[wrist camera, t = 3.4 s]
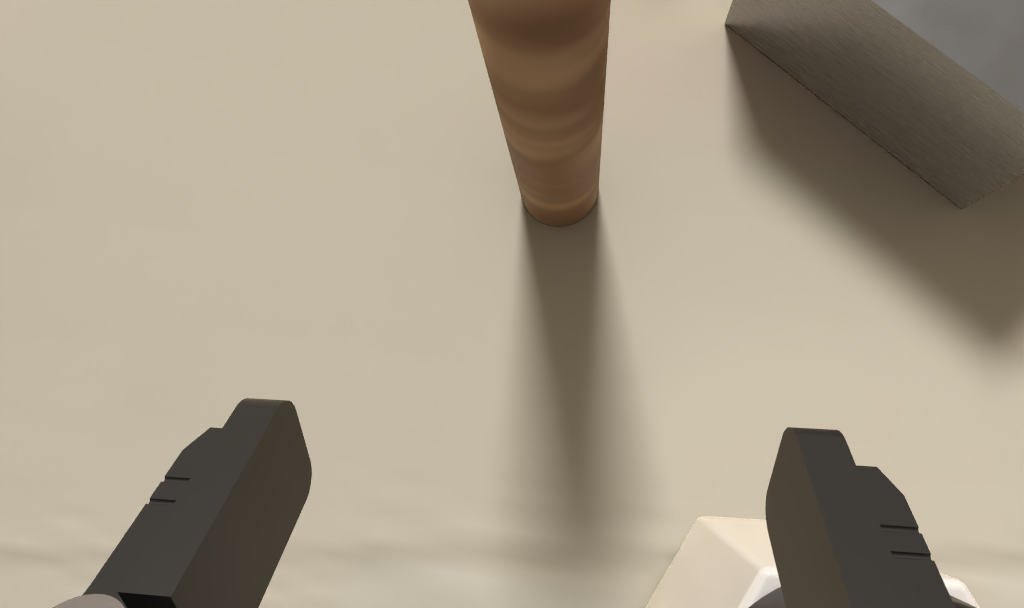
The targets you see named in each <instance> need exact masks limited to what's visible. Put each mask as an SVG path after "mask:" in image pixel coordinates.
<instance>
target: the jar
mask: <svg viewBox="0 0 1024 608" xmlns="http://www.w3.org/2000/svg"><path fill="white" fill-rule="evenodd" d="M939 573H940V575H941V577H942V579H943V582H944V584H945V586H946V588H947V590H948V592H949V595H950V597H951V599H952V601H953V603H954V606H955V608H980V607H979V605H978V604H977V602H976V601H975V599H974V597H973V596H972V594H971V593H970V591H969V589H968V588H967V586H966V585H965V584H964V583H963V582H962V581H960V580H958V579H956V578H953V577H951V576H948V575H946V574H944V573H941V572H939ZM645 608H786V606H785V601H784V597H783V593H782V589H781V585H780V581H779V576H778V572H777V568H776V564H775V560H774V555H773V551H772V547H771V543H770V539H769V534H768V530H767V524H766V520H763V519H746V518H729V517H712V516H701V517H699V518H698V519H697V520H696V522H695V523H694V525H693V527H692V529H691V530H690V532H689V534H688V536H687V537H686V539H685V541H684V542H683V544H682V546H681V548H680V549H679V551H678V553H677V554H676V556H675V558H674V559H673V561H672V563H671V565H670V566H669V568H668V570H667V571H666V573H665V575H664V576H663V578H662V580H661V582H660V583H659V585H658V587H657V588H656V590H655V592H654V594H653V595H652V597H651V599H650V600H649V602H648V604H647V605H646V607H645Z"/></svg>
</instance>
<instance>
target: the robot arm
mask: <svg viewBox="0 0 1024 608" xmlns="http://www.w3.org/2000/svg"><path fill="white" fill-rule="evenodd" d="M311 475H312V469H311V462H310V458H309V454H308V451H307V447H306V444H305V440H304V437H303V433H302V430H301V426H300V423H299V419H298V416H297V412H296V409H295V406H294V405H293V403H292V402H290V401H285V400H267V399H249V398H246V399H244V400H242V401H241V402H240V403H239V404H238V405H237V406H236V408H235V410H234V411H233V413H232V414H231V416H230V417H229V419H228V420H227V422H226V423H225V425H224V427H223V428H209V429H208V430H207V431H206V432H204V433H203V434H202V435H201V436H199V437H198V438H197V439H196V440H195V441H193V442H192V443H191V444H190V445H188V446H187V447H186V448H185V449H183V451H182V452H181V453H180V455H179V456H178V458H177V459H176V461H175V462H174V464H173V465H172V467H171V468H170V470H169V471H168V472H167V474H166V475H165V480H164V482H161V483H160V484H159V486H158V487H157V488H156V490H155V491H154V493H153V494H152V496H151V497H150V502H149V504H146V505H145V506H144V507H143V509H142V510H141V512H140V513H139V515H138V516H137V518H136V519H135V521H134V522H133V524H132V525H131V526H130V528H129V529H128V531H127V532H126V534H125V535H124V537H123V538H122V540H121V541H120V542H119V544H118V545H117V547H116V548H115V550H114V551H113V553H112V554H111V556H110V557H109V559H108V560H107V561H106V563H105V564H104V566H103V567H102V569H101V570H100V572H99V573H98V575H97V576H96V578H95V579H94V580H93V582H92V583H91V585H90V586H89V587H88V589H87V590H86V591H85V593H84V594H83V595H82V596H79V597H75V598H72V599H70V600H67V601H65V602H63V603H61V604H59V605H57V606H55V607H53V608H258V607H259V605H260V603H261V600H262V598H263V596H264V594H265V591H266V589H267V587H268V585H269V582H270V580H271V578H272V576H273V574H274V571H275V569H276V567H277V565H278V562H279V560H280V558H281V556H282V553H283V551H284V549H285V547H286V544H287V542H288V540H289V538H290V535H291V533H292V531H293V529H294V527H295V524H296V522H297V520H298V518H299V515H300V513H301V511H302V509H303V506H304V504H305V502H306V499H307V497H308V494H309V490H310V485H311ZM766 524H767V530H768V534H769V539H770V543H771V547H772V551H773V555H774V560H775V564H776V568H777V572H778V576H779V581H780V585H781V589H782V593H783V597H784V601H785V606H786V608H955V606H954V603H953V601H952V599H951V597H950V595H949V592H948V590H947V588H946V586H945V584H944V582H943V579H942V577H941V575H940V573H939V571H938V568H937V566H936V564H935V562H934V561H932V560H931V558H930V555H931V553H930V551H929V549H928V547H927V545H926V542H925V540H924V538H923V536H922V534H919V532H918V528H919V527H918V525H917V523H916V521H915V518H914V516H913V514H912V512H911V510H910V507H909V505H908V503H907V501H906V499H905V497H904V495H903V494H902V493H901V492H900V491H899V490H898V489H897V488H896V487H895V485H894V484H893V483H892V482H891V481H890V480H889V479H888V478H887V477H886V476H885V475H884V474H883V473H882V472H881V471H880V470H879V469H878V468H877V467H870V466H856V465H855V462H854V460H853V457H852V455H851V452H850V450H849V447H848V445H847V442H846V440H845V438H844V436H843V434H842V433H841V432H840V431H838V430H827V429H809V428H791V427H788V428H786V430H785V431H784V433H783V436H782V440H781V443H780V447H779V450H778V454H777V458H776V461H775V465H774V468H773V472H772V475H771V479H770V483H769V486H768V490H767V495H766Z"/></svg>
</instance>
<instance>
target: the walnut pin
mask: <svg viewBox="0 0 1024 608" xmlns="http://www.w3.org/2000/svg"><path fill="white" fill-rule="evenodd" d="M468 2H469V5H470V9H471V13H472V16H473V20H474V24H475V27H476V31H477V35H478V38H479V42H480V46H481V49H482V53H483V57H484V60H485V64H486V68H487V71H488V75H489V79H490V82H491V86H492V90H493V94H494V97H495V101H496V105H497V108H498V112H499V116H500V119H501V123H502V127H503V130H504V134H505V138H506V141H507V145H508V149H509V152H510V156H511V160H512V163H513V167H514V171H515V174H516V178H517V182H518V185H519V189H520V193H521V196H522V200H523V203H524V205H525V207H526V209H527V210H528V212H529V213H530V214H531V215H532V216H533V217H534V218H535V219H536V220H538V221H540V222H542V223H544V224H547V225H550V226H567V225H571V224H574V223H576V222H578V221H580V220H581V219H583V218H584V217H585V216H586V215H588V213H589V212H590V211H591V210H592V208H593V207H594V205H595V203H596V200H597V196H598V187H599V171H600V156H601V141H602V125H603V110H604V94H605V79H606V64H607V48H608V33H609V18H610V2H611V0H468Z"/></svg>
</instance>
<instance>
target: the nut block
mask: <svg viewBox="0 0 1024 608" xmlns="http://www.w3.org/2000/svg"><path fill="white" fill-rule="evenodd" d="M725 24H726V25H728V26H729V27H730V28H731V29H733V30H734V31H735V32H737V33H738V34H739V35H740V36H742V37H743V38H744V39H745V40H747V41H748V42H749V43H751V44H752V45H753V46H754V47H756V48H757V49H758V50H759V51H761V52H762V53H763V54H765V55H766V56H767V57H768V58H770V59H771V60H772V61H773V62H775V63H776V64H777V65H779V66H780V67H781V68H782V69H784V70H785V71H786V72H787V73H789V74H790V75H791V76H793V77H794V78H795V79H796V80H798V81H799V82H800V83H801V84H803V85H804V86H805V87H807V88H808V89H809V90H810V91H812V92H813V93H814V94H815V95H817V96H818V97H819V98H821V99H822V100H823V101H824V102H826V103H827V104H828V105H829V106H831V107H832V108H833V109H835V110H836V111H837V112H838V113H840V114H841V115H842V116H843V117H845V118H846V119H847V120H849V121H850V122H851V123H852V124H854V125H855V126H856V127H857V128H859V129H860V130H861V131H863V132H864V133H865V134H866V135H868V136H869V137H870V138H871V139H873V140H874V141H875V142H877V143H878V144H879V145H880V146H882V147H883V148H884V149H885V150H887V151H888V152H889V153H891V154H892V155H893V156H894V157H896V158H897V159H898V160H899V161H901V162H902V163H903V164H905V165H906V166H907V167H908V168H910V169H911V170H912V171H913V172H915V173H916V174H917V175H919V176H920V177H921V178H922V179H924V180H925V181H926V182H927V183H929V184H930V185H931V186H933V187H934V188H935V189H936V190H938V191H939V192H940V193H941V194H943V195H944V196H945V197H947V198H948V199H949V200H950V201H952V202H953V203H954V204H955V205H957V206H958V207H959V208H961V209H963V208H964V207H966V206H968V205H970V204H972V203H973V202H975V201H977V200H979V199H980V198H982V197H984V196H986V195H988V194H989V193H991V192H993V191H995V190H996V189H998V188H1000V187H1002V186H1003V185H1005V184H1007V183H1009V182H1011V181H1012V180H1014V179H1016V178H1018V177H1019V176H1021V175H1023V174H1024V0H733V1H732V4H731V7H730V10H729V13H728V15H727V18H726V21H725Z"/></svg>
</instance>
